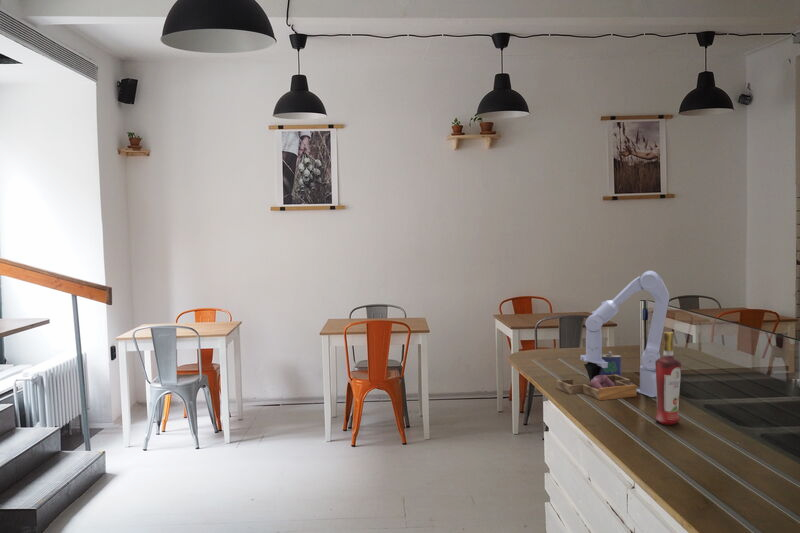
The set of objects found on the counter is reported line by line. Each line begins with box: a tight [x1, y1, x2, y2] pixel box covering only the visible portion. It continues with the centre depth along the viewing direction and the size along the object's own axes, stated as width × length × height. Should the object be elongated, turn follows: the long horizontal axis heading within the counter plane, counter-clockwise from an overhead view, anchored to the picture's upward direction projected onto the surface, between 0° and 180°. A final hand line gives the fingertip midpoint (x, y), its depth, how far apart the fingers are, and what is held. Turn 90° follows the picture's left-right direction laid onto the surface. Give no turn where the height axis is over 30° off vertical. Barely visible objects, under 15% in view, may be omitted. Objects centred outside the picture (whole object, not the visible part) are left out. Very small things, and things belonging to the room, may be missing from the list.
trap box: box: [555, 374, 638, 401], centre depth 230 cm, size 20×26×4 cm
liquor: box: [655, 331, 682, 426], centre depth 193 cm, size 7×7×28 cm
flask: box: [599, 351, 622, 377], centre depth 250 cm, size 9×3×11 cm, turn 88°
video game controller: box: [590, 375, 616, 390], centre depth 231 cm, size 10×5×7 cm, turn 135°
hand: (593, 382), depth 235 cm, fingers closed
